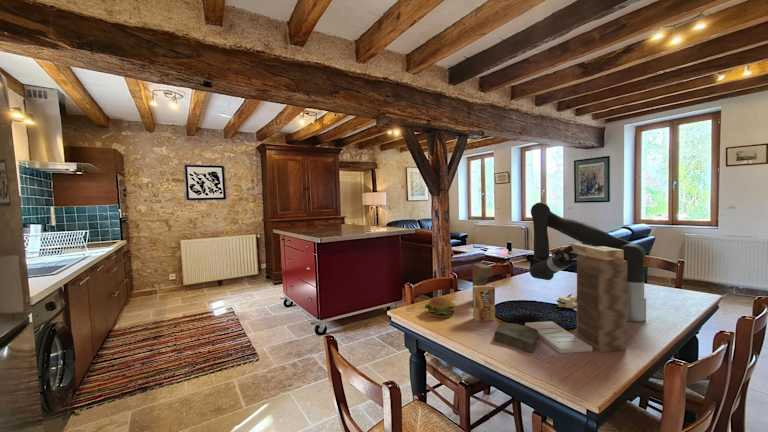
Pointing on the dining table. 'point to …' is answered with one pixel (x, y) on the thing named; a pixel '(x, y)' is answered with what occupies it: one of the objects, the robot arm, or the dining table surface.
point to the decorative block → (481, 274)
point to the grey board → (559, 337)
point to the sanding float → (598, 252)
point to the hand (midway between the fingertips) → (581, 247)
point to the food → (440, 307)
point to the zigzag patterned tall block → (602, 304)
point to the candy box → (484, 303)
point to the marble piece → (517, 336)
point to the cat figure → (567, 301)
